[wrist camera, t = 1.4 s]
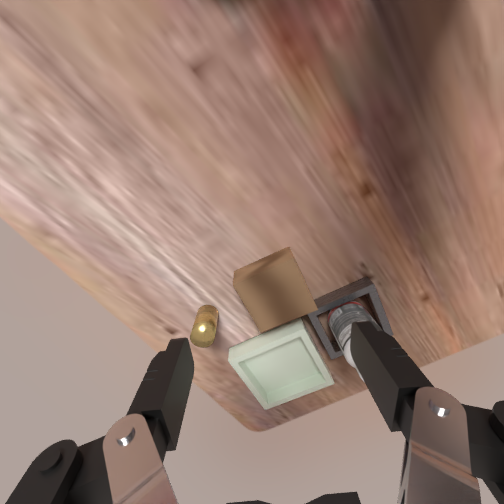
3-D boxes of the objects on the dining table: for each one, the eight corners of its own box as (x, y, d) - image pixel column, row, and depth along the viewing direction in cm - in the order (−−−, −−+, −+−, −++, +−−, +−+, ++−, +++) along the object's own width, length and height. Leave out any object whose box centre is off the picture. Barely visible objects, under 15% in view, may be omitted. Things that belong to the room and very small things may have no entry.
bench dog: (211, 301, 34) (206, 324, 29) (222, 317, 35) (218, 341, 30) (193, 310, 34) (185, 334, 30) (204, 325, 35) (198, 350, 31)
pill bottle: (367, 324, 36) (410, 382, 27) (331, 335, 37) (360, 395, 27) (361, 293, 34) (404, 344, 25) (322, 305, 35) (350, 359, 25)
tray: (300, 317, 35) (304, 328, 33) (329, 370, 39) (334, 383, 37) (229, 348, 37) (228, 360, 35) (264, 395, 41) (265, 410, 39)
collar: (366, 276, 33) (374, 283, 31) (385, 325, 36) (393, 334, 34) (303, 304, 34) (306, 313, 33) (327, 349, 38) (331, 359, 36)
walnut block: (288, 245, 31) (294, 257, 28) (310, 292, 34) (318, 309, 30) (234, 270, 32) (232, 285, 29) (259, 314, 35) (261, 332, 31)
